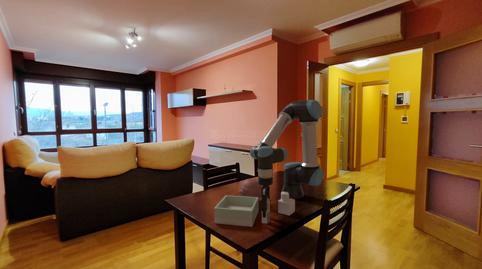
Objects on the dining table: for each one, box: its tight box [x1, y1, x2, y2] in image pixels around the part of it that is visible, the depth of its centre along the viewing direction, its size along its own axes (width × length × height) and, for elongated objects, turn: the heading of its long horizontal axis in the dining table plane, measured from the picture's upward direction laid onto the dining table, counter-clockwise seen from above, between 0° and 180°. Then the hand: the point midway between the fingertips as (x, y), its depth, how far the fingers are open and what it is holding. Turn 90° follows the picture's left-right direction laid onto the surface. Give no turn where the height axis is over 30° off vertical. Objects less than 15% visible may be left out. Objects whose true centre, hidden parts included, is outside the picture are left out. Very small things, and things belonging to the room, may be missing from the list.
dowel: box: [266, 198, 271, 224], centre depth 118 cm, size 4×4×12 cm
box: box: [213, 194, 260, 228], centre depth 124 cm, size 20×20×8 cm
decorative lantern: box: [237, 178, 263, 202], centre depth 143 cm, size 15×20×15 cm
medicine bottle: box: [277, 190, 296, 216], centre depth 129 cm, size 7×7×12 cm
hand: (265, 218), depth 118 cm, fingers open, 10 cm apart
